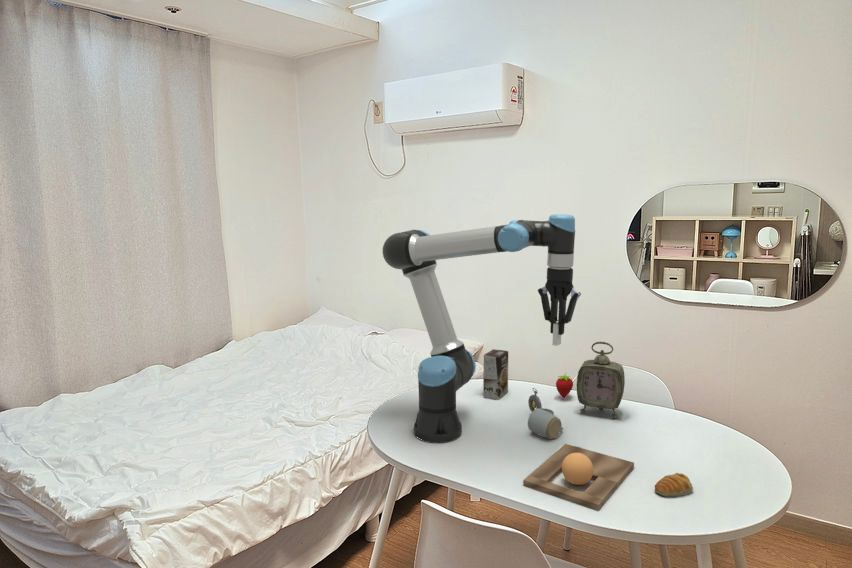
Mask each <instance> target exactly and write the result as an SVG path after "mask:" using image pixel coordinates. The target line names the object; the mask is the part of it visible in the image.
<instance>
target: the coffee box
mask: <svg viewBox="0 0 852 568" xmlns="http://www.w3.org/2000/svg"><path fill="white" fill-rule="evenodd" d="M482 379H483V381H482V383H483V384H482V385H483V389H482V391H483V393H482V396H483V398H488V399H493V400H501V398H502V397H504V396H505V395H507V394H508V393H509V350H504V349H503V350H502V349H494V348H493V349H491V350H490V351H488V352H486V353H485V354H483V378H482Z"/></svg>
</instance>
